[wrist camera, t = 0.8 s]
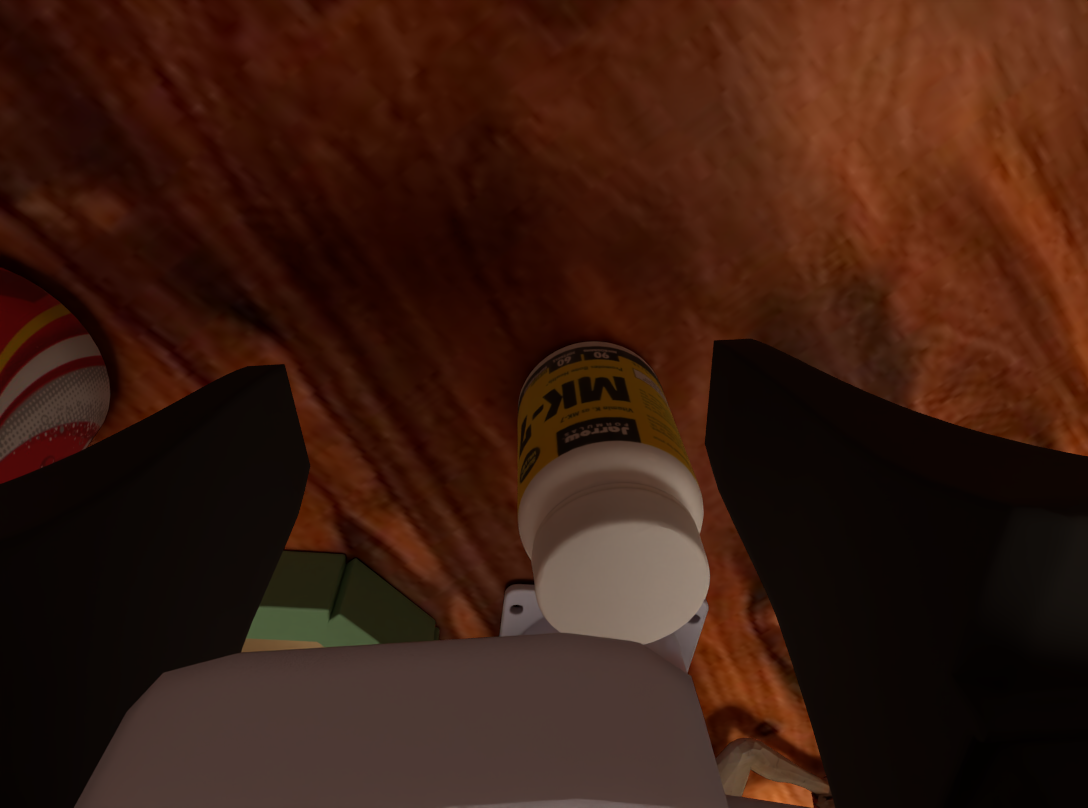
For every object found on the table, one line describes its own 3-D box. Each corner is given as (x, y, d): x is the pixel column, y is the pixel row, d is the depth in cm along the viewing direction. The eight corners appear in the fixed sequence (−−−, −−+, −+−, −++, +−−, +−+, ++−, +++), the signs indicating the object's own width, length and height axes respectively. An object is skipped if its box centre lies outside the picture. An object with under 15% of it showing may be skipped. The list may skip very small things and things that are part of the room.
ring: (431, 749, 32) (425, 811, 29) (167, 741, 30) (137, 804, 28) (443, 558, 26) (437, 616, 23) (118, 539, 25) (76, 597, 22)
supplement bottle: (615, 309, 21) (671, 468, 14) (685, 417, 23) (765, 606, 16) (487, 386, 22) (476, 572, 15) (564, 483, 24) (588, 688, 17)
